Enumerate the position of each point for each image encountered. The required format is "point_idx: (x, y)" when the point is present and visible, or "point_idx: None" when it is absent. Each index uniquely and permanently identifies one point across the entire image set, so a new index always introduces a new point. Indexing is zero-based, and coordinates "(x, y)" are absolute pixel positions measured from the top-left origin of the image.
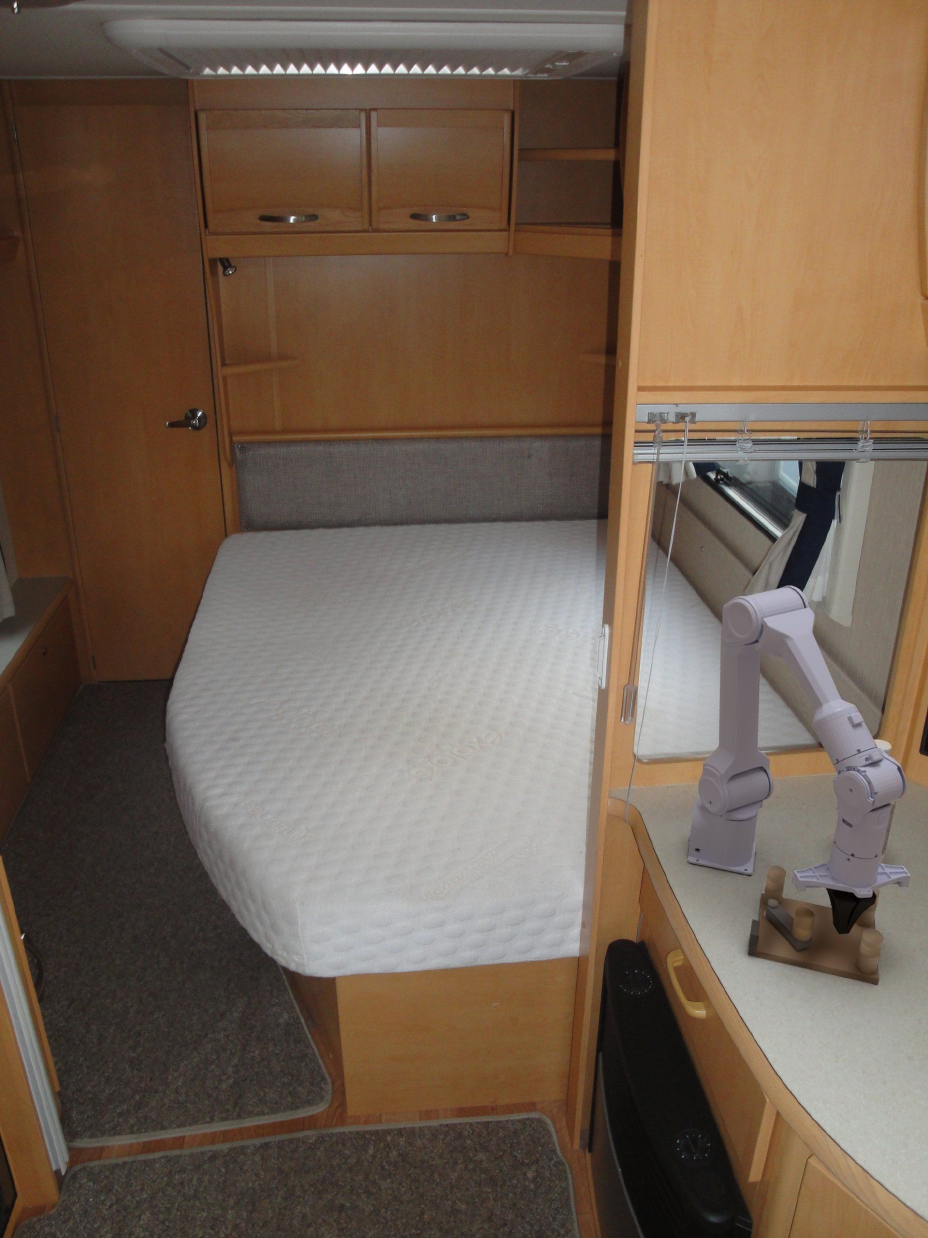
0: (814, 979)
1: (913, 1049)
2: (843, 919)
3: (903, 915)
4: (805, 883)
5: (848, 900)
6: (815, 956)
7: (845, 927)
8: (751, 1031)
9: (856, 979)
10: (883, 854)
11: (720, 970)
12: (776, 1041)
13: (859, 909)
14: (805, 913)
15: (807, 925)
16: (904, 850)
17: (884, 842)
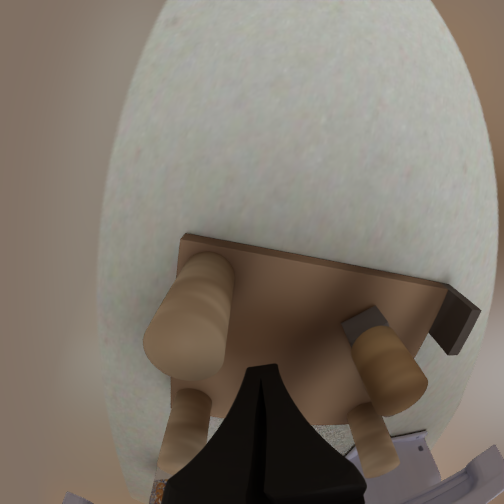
0: (346, 232)
1: (155, 44)
2: (284, 407)
3: (125, 405)
4: (494, 484)
5: (308, 498)
6: (336, 297)
7: (265, 382)
8: (474, 89)
9: (238, 243)
10: (156, 479)
11: (492, 237)
12: (442, 60)
13: (232, 452)
14: (399, 398)
15: (398, 362)
16: (134, 469)
17: (154, 497)
